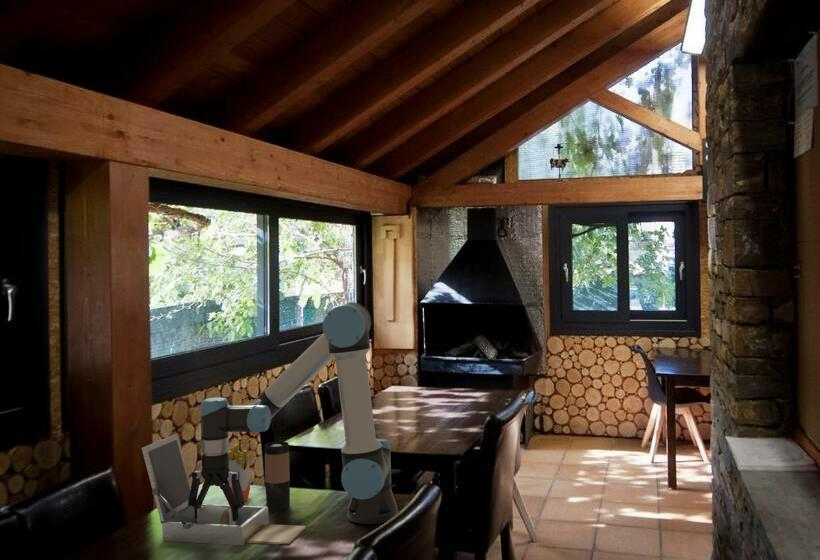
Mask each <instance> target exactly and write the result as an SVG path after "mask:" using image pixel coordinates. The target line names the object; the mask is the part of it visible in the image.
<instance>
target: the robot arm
mask: <svg viewBox="0 0 820 560" xmlns="http://www.w3.org/2000/svg"><path fill="white" fill-rule="evenodd" d="M371 326H372V319H371V315H370V312H369V311H368V310H367V308H366V307H364V306H363V305H362V304H360V303H357V302H346V303H344V302H343V303H339V304H336V305H334V306H333V307H331V308H330V309H329V310H328V312H327V313H326V315H324V319H323V322H322V331H323V333H322V334H321V335H320V336H319V337H318V338H317V339H316V340H315V341H313V343H312V344H311V345H310V346H309V347H307V349H305V351H303V352H302V353H301V354H300V356H298V357H297V359H295V360H294V361H293V362H292V363H291V364H290V365H288V367H287V368H286V369H284V371H283V372H282V373H281V374H280V375H279V376H278V377H277V378H275V379H274V381H273V382H271V384H270V385H268V386H267V387H266V388H265V389H264V390H263V391H262V392H260V394H259V395H258V396H256V398H255V399H253V400H252V401H250V402H248V403H247V404H241V405H240V404H239V405H237V404H236V405H233V404H232V405H231V404H229V402H228V398H226V397H220V396H219V397H209V398H206V399H203V400H202V401H201V403H200V414H199V415H200V434H201V436H200V437H201V438H200V439H201V441H200V442H201V447H200V448H201V449H200V451H201V453H202V454H201V468H202V469H201V470H199V469H197V470H195V471H193V472H191V479H192V481H191V491H190V496H189V501H188V505H189V506H193V507H194V509H195V519H197V521H196V523H197V522H198V515H199V513H200V511H201V509H202V508H203V507H204V506H201V505H203V504H204V503H203V502H204V500H205V498H206V496H207V494H208V492H209V490H210V488H211V487H213V486H215V487H219V488H220V490H221V491H222V493H223V495H224V496H225V499H226V501H227V503H228V505H230V507H231V510H229V525H237V523H236V521H237V520H238V509H239V508H241V507H243V506H246V505H245V503H246V502H245V503H244V498H243V494H242V490H241V486H240V482H239V475H240V473H239V472H230V470H229V453H228V451H230V450H229V433H260V432H266V431H268V430H269V429H270V426H271V423H272V419H273V418H274V417H275V416H276V414H277V413H278V412H279V411H280V410H281V409H282V408H283V407H284V406H285V405H286V404H287V403H288V402H289V401H290V400H291V399H292V398H294V397H295V395H297V394H299V392H300V391H301V390H302V389H303V388H304V387H305V386H306V385H307V384H308V383H310V381H311V380H313V379H314V377H315V376H316V375H318V373H320V371H322V370H323V369H324V368H325V367H326V366H328V364H329V363H330V362H331V361H333V360H335V366H336V375H337V380H338V381H337V382H338V383H337V384H338V390H339V391H338V392H339V399H340V407H341V415H342V416H341V417H342V423H343V430H344V439H345V444H344V446H343V447H342V448H341V451H340V452H341V460H342V461H341V462H342V466H343V467H342V471H341V477H340V478H341V479H340V480H341V485H342V487H343V489H344V491H345V492H346V493H347V494H348V495H349V496H350V499H349V504H348V507H347V513H346V514H347V520H349V521H350V522H352V523H356V524H361V525H380V524H385V523H386V522H385V521H387V520H389V519H390V518H391V517H393V516H394V515H396V514H397V513H399V509H398V505H397V501H396V499H395V497H394V494H393V491H392V469H391V468H392V465H391V451H392V448H391V443H390V441H389V440H388V439H384V438H377V435H376V430H375V429H376V428H375V420H374V412H373V401H372V395H371V387H370V379H369V378H370V377H369V370H368V363H367V362H368V361H367V354H368V352H369V351H370V350H371V343H370V335H369V334H370V333H369V332H370V330H371ZM228 477H230V480H231V482H232V487H233V492H234V494H233V492H232V490H231V488H230V486H229V482H228ZM201 478H203V479H204V481H203V483H202V486H201V489H200V491H199V488H200V483H201ZM198 493H199V494H198ZM384 522H385V523H384Z"/></svg>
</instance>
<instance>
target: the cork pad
mask: <svg viewBox="0 0 820 560" xmlns="http://www.w3.org/2000/svg"><path fill="white" fill-rule="evenodd" d="M306 529H307V525H293V524H292V525H290V524H277V523H276V524H272V523H268V524H267V525H265V526H264V527H263V528H262V529H261V530H260V531H258V532H257V533H256V534H255V535H254V536H252V537H251V538H250V539H249V540H248V541H247V543H249V544H261V545H262V544H263V545H265V544H266V545H267V544H268V545H279V544H290V543H291V542H292V541H293V542H294V541H295V540H296V539H297V538H298V537H299V536H300V535H301V534H302V533H303V532H304V531H305V530H306ZM293 542H292V543H293ZM292 543H291V544H292ZM291 544H290V545H291Z"/></svg>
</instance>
